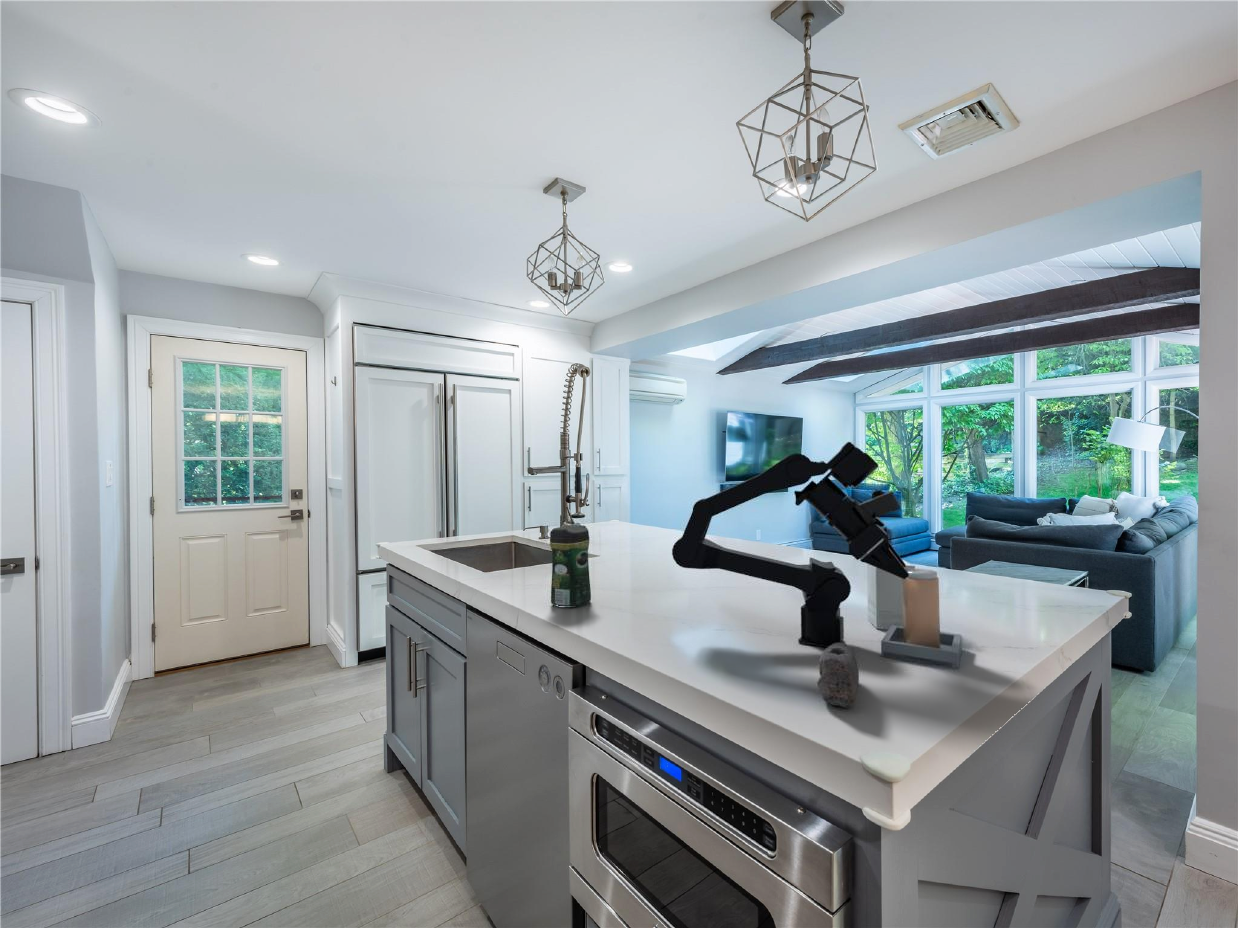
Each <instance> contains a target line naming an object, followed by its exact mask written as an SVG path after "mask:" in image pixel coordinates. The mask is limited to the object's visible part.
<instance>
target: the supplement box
mask: <svg viewBox="0 0 1238 928" xmlns="http://www.w3.org/2000/svg"><path fill="white" fill-rule="evenodd" d="M902 560H903V562H904V563H905V564H906V566H905V567H904V568H905V569H916V566H915V565H914V564H912V563H910V562H908V561H906V560H904V559H902ZM866 584H867V585H866V589H867V591H866V592H867V620H868V621H869V622H870V623H871V625H873V626H874V628H875V629H877V630H887V631H888V630H889V628H890V627H891V625H894V626H901V627H903V593H902V578H900V577H898V576H896V575H893V574H891V573H889V572H886V571H884V570H882V569H879V568H877V567H874V566H872V565H869V564H867V563H866Z"/></svg>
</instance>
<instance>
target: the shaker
mask: <svg viewBox="0 0 1238 928" xmlns="http://www.w3.org/2000/svg"><path fill="white" fill-rule="evenodd" d="M905 570H906V571H907V572H908V574H909V576H908V577H907V578H906V579H902V593H903V635H904V643H908V644H914V645H921V646H928V647H934V648H940V632H941V621H940V620H941V619H940V618H941V617H940V614H941V613H940V583H939V582H940V579H939V577H938V572H937V571H935V570H932V569H926V568H924V569H923V568H915V569H905Z"/></svg>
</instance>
